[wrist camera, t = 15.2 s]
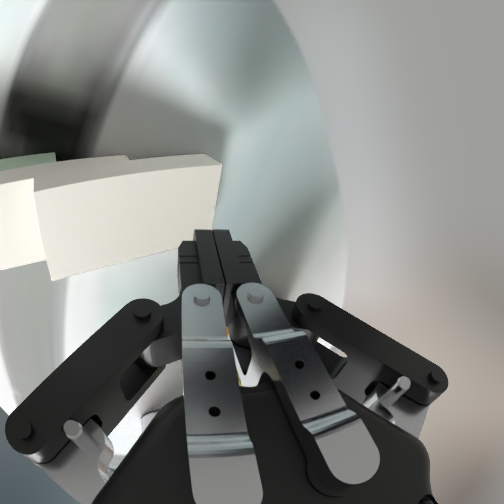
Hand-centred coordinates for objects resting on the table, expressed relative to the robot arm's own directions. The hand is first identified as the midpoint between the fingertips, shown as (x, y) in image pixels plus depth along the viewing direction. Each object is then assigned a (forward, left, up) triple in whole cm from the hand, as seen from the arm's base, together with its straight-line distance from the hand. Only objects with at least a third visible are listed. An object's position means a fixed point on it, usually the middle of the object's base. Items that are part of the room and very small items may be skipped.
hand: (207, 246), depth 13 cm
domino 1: (0, -1, -6) cm, 6 cm away
